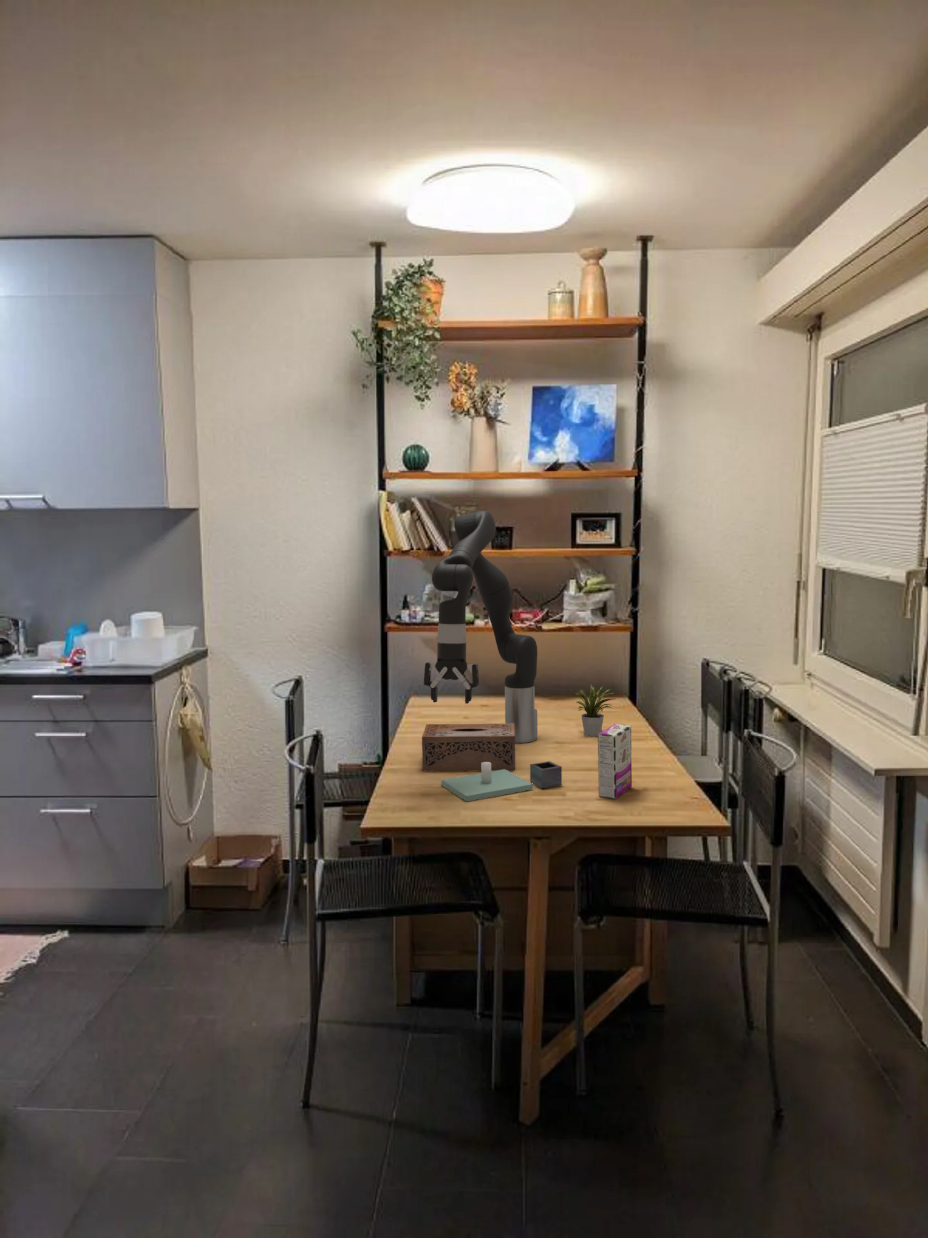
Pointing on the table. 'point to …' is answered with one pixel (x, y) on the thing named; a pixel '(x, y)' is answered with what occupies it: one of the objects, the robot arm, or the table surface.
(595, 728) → the house plant
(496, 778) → the post board
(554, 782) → the open box
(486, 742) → the tissue box cover
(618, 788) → the candy bar box
